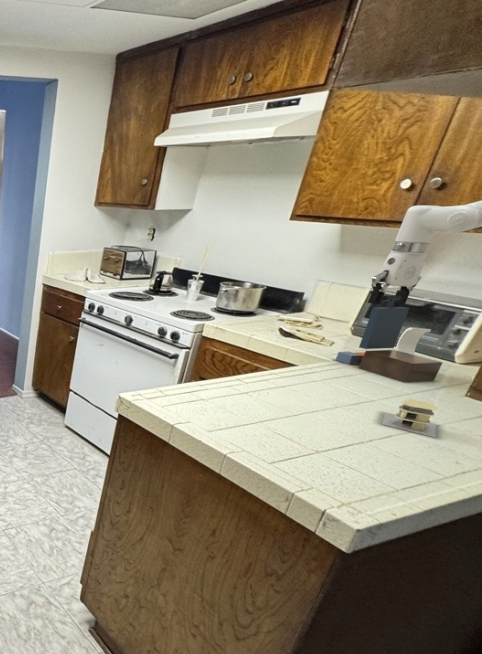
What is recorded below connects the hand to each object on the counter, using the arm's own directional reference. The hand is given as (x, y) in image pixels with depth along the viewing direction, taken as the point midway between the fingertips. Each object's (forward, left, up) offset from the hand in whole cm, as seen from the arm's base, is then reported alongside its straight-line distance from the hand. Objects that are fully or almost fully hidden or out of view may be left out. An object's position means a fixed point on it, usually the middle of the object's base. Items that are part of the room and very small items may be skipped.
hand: (386, 303), depth 151 cm
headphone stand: (+2, -20, -21) cm, 29 cm away
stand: (-10, 0, -21) cm, 23 cm away
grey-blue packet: (+5, +3, -19) cm, 20 cm away
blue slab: (-3, 0, -6) cm, 6 cm away
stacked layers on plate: (-42, +40, -21) cm, 62 cm away
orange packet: (+4, -2, -19) cm, 20 cm away
